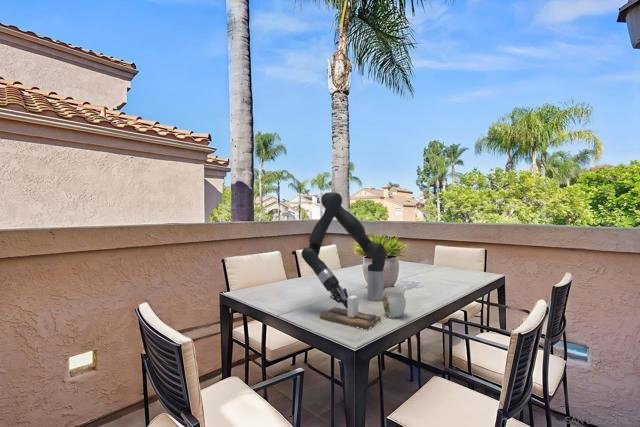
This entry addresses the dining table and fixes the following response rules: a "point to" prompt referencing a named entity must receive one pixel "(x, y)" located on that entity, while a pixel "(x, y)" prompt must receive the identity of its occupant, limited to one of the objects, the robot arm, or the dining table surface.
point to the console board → (350, 318)
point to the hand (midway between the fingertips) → (349, 307)
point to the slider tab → (352, 306)
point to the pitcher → (394, 301)
